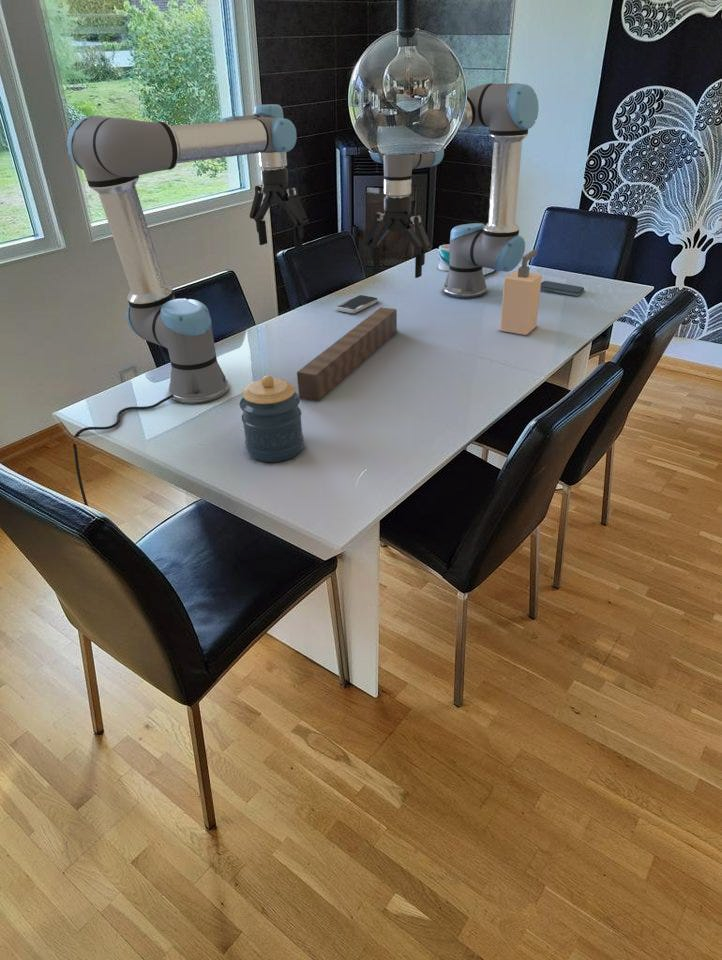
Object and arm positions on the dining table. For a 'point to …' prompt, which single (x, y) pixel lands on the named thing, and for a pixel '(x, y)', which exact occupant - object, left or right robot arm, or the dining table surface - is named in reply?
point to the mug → (444, 257)
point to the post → (346, 354)
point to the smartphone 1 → (357, 304)
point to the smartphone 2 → (561, 288)
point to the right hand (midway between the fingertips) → (397, 274)
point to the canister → (271, 420)
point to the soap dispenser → (521, 299)
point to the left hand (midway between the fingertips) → (280, 246)
